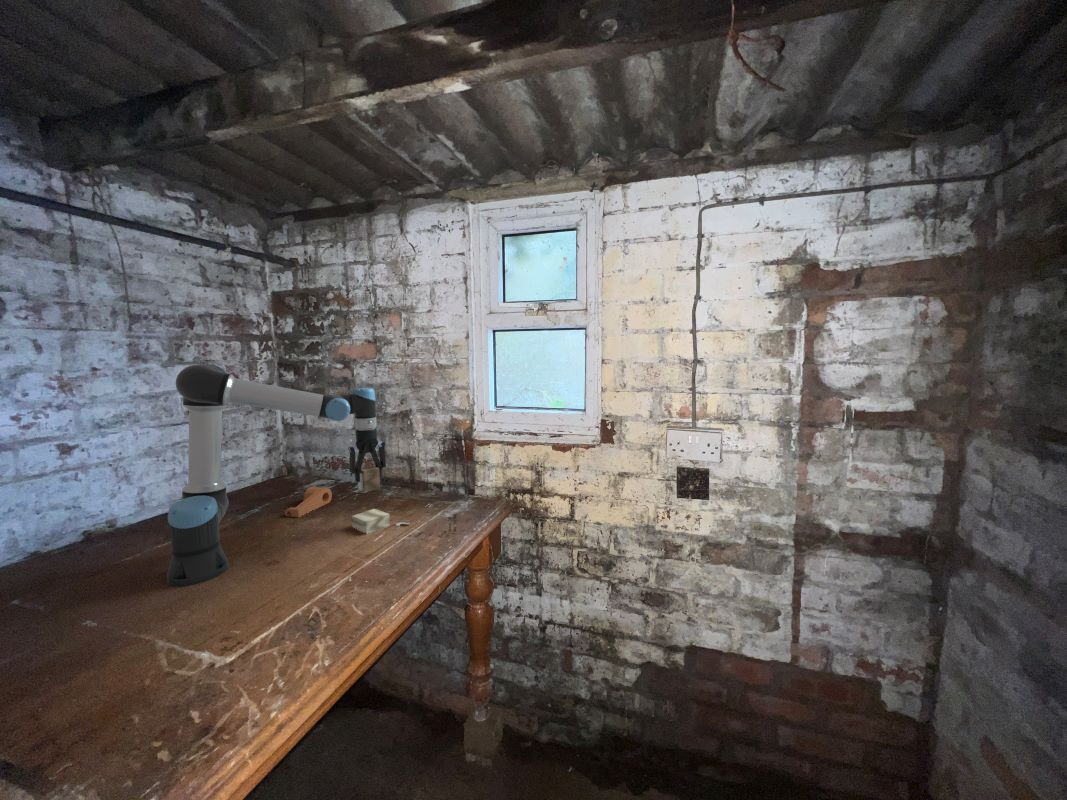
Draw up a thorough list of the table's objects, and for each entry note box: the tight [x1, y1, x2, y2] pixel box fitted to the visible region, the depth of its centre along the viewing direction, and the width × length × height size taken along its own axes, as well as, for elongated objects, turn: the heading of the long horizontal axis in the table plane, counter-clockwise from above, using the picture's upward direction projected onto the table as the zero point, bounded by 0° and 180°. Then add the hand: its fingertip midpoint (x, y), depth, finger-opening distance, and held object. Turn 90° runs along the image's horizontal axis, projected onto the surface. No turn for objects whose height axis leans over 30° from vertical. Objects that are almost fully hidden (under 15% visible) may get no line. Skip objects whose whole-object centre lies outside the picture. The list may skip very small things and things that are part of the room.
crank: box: [284, 486, 333, 518], centre depth 186 cm, size 20×8×8 cm, turn 167°
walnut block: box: [360, 465, 381, 493], centre depth 165 cm, size 6×6×8 cm
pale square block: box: [351, 508, 391, 535], centre depth 167 cm, size 10×10×5 cm
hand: (369, 487), depth 166 cm, fingers closed on walnut block, 6 cm apart
